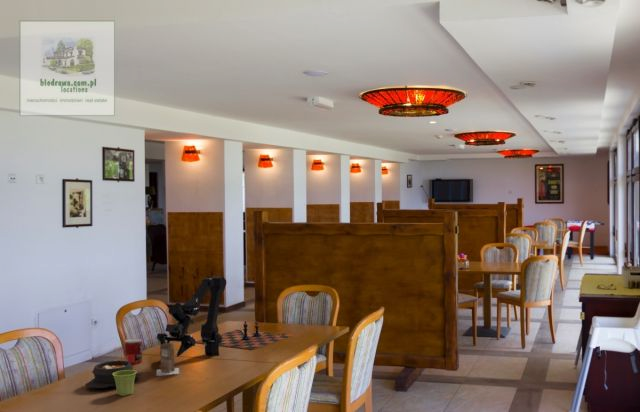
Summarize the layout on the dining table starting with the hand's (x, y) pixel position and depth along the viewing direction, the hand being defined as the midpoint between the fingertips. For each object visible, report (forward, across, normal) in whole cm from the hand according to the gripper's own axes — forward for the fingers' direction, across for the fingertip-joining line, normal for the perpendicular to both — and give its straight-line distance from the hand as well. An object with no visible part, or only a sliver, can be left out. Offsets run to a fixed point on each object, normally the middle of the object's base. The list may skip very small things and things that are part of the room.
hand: (169, 355), depth 311 cm
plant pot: (+30, +3, -20) cm, 36 cm away
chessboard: (-44, -1, +57) cm, 72 cm away
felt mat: (+6, 0, +4) cm, 7 cm away
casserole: (+23, -12, -12) cm, 28 cm away
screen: (-3, -11, +13) cm, 18 cm away
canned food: (-1, -27, +12) cm, 29 cm away
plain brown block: (+6, 0, +4) cm, 7 cm away
